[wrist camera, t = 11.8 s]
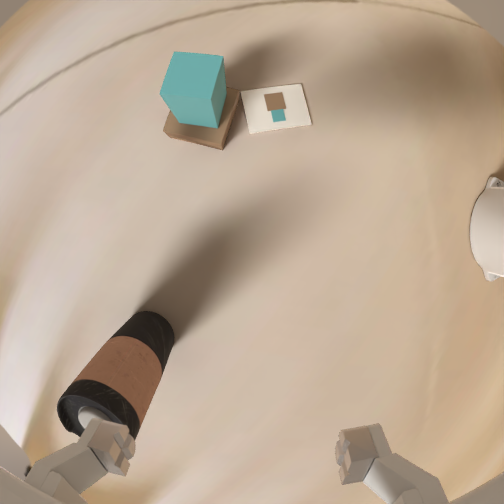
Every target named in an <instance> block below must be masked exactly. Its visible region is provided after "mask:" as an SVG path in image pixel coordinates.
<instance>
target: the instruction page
mask: <svg viewBox="0 0 504 504" xmlns="http://www.w3.org/2000/svg"><path fill="white" fill-rule="evenodd" d="M241 97H242V101H243V106H244V110H245V115H246V120H247V124H248V129H249V134H254V133H260V132H266V131H273V130H279V129H286V128H293V127H301V126H310V125H312V124H311V120H310V116H309V112H308V108H307V104H306V100H305V97H304V93H303V89H302V86H301V84H293V85H284V86H275V87H267V88H260V89H253V90H247V91H241Z"/></svg>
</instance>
